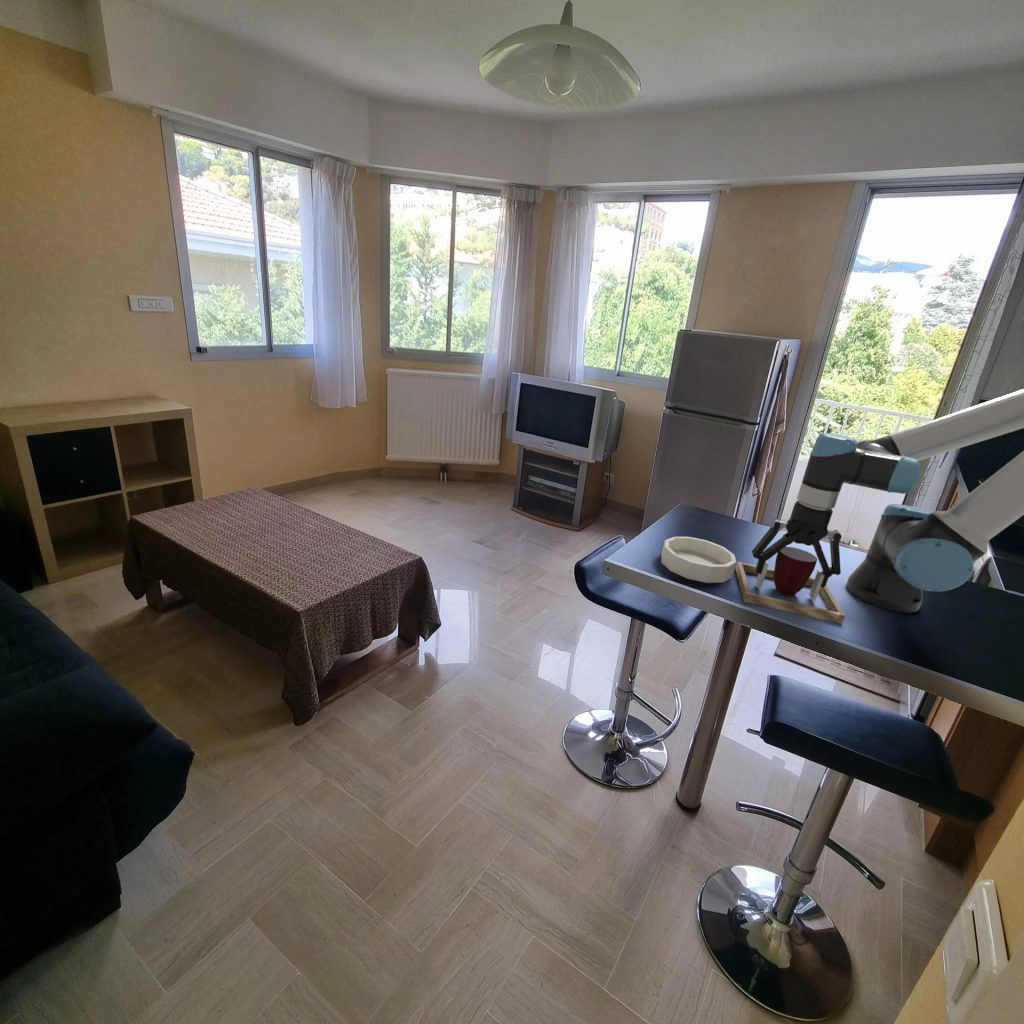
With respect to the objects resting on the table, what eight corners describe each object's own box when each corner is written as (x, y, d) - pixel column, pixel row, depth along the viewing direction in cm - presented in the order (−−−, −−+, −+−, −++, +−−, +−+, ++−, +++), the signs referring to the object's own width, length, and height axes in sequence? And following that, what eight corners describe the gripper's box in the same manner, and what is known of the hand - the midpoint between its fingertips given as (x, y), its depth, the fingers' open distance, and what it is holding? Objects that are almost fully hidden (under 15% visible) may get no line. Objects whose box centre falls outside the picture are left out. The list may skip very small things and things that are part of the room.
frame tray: (820, 586, 128) (823, 579, 127) (842, 623, 111) (845, 615, 110) (735, 568, 132) (737, 561, 131) (744, 601, 116) (746, 593, 115)
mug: (799, 609, 115) (814, 569, 112) (761, 595, 120) (774, 556, 116) (805, 592, 124) (819, 554, 120) (770, 580, 128) (782, 543, 124)
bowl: (727, 560, 137) (731, 545, 135) (734, 589, 121) (739, 572, 120) (661, 546, 140) (665, 531, 139) (660, 572, 125) (664, 556, 123)
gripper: (868, 509, 114) (835, 596, 122) (755, 489, 120) (730, 573, 128) (880, 521, 108) (844, 611, 115) (760, 499, 113) (734, 587, 121)
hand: (784, 591), depth 121 cm, fingers open, 11 cm apart
